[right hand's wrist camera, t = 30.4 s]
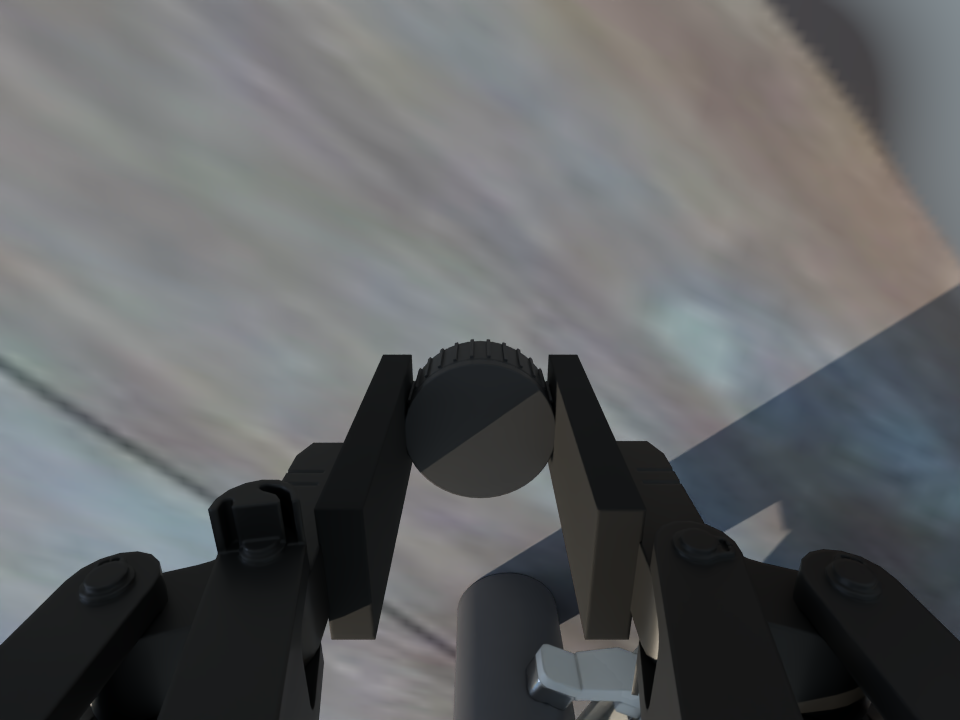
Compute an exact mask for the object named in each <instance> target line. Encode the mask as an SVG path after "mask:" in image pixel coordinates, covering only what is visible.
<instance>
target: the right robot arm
mask: <svg viewBox="0 0 960 720" xmlns="http://www.w3.org/2000/svg"><path fill="white" fill-rule="evenodd" d="M547 381H548V384H549V388H550V391H551V395H552V399H553V402H554V403H552V407H553V411H554V414H555V438H554V450H553V452H552V455H551V457H550V459H549V461H548V464H549V469H550V474H551V479H552V484H553V488H554V493H555V498H556V503H557V508H558V512H559V517H560V522H561V527H562V531H563V536H564V541H565V546H566V551H567V555H568V560H569V565H570V570H571V575H572V579H573V584H574V589H575V594H576V598H577V603H578V608H579V613H580V618H581V622H582V627H583V632H584V637H585V639H629V634H630V627H631V620H632V617H633V620H634V623H635V626H636V629H637V633H638V636H639V639H640V640H639V646H638V653H637V660H636V667H635V673H634V680H633V687H632V694H631V695H636V696H638V694H639V700H640V711H641V720H960V641H959V640H958V639H957V638H956V637H955V636H954V635H953V634H952V633H951V632H950V631H949V630H948V629H947V628H946V627H945V626H944V625H943V624H942V623H941V622H939V621H938V620H937V619H936V618H935V617H934V616H933V615H932V614H931V613H930V612H929V611H928V610H927V609H926V608H925V607H924V606H923V605H922V604H921V603H920V602H919V601H918V600H917V599H916V598H915V597H914V596H913V595H912V594H911V593H910V592H909V591H908V590H907V589H906V588H905V587H904V586H903V585H902V584H901V583H900V582H899V581H898V580H897V579H895V578H894V577H893V576H892V575H890V574H889V573H888V572H886V571H885V570H884V569H883V568H881V567H880V566H878V565H876V564H874V563H872V562H870V561H868V560H866V559H864V558H862V557H860V556H856V555H854V554H850V553H847V552H843V551H837V550H826V549H822V550H817V551H813V552H809V553H808V554H807V555H806V556H805V557H804V558H803V559H802V560H801V564H800V567H799V571H797V570H792V569H788V568H783V567H779V566H774V565H770V564H765V563H761V562H758V561H755V560H751V559H748V558H746V557H744V556H743V554H742V552H741V550H740V549H739V547H738V546H737V544H736V543H735V541H733V540H732V539H731V538H730V537H728V536H727V535H726V534H725V533H723V532H722V531H720V530H718V529H715V528H713V527H711V526H709V525H707V524H705V523H704V522H703V520H702V518H701V517H700V515H699V513H698V511H697V510H696V508H695V506H694V505H693V503H692V501H691V499H690V498H689V496H688V494H687V493H686V491H685V489H684V487H683V486H682V484H680V481H679V479H678V477H677V475H676V474H675V472H674V471H673V470H672V467H671V465H670V463H669V462H668V460H667V458H666V457H665V455H664V453H662V452H661V451H660V450H658V449H657V448H656V447H654V446H653V445H651V444H650V443H649V442H647V441H616V440H615V438H614V436H613V433H612V431H611V429H610V427H609V424H608V422H607V420H606V418H605V415H604V413H603V411H602V409H601V407H600V404H599V402H598V400H597V398H596V395H595V393H594V391H593V389H592V387H591V384H590V382H589V380H588V378H587V375H586V373H585V371H584V369H583V366H582V364H581V362H580V360H579V358H578V355H549V359H548V379H547ZM412 382H413V372H412V355H383V356H382V358H381V361H380V363H379V365H378V367H377V370H376V372H375V374H374V376H373V378H372V381H371V383H370V385H369V387H368V390H367V392H366V394H365V396H364V399H363V401H362V403H361V405H360V407H359V410H358V412H357V414H356V416H355V419H354V421H353V423H352V425H351V427H350V430H349V432H348V434H347V436H346V439H345V441H344V443H313V444H311V445H310V446H309V447H307V448H306V449H305V450H303V451H302V452H301V453H299V454H298V455H297V456H296V458H295V459H294V461H293V463H292V465H291V466H290V468H289V470H288V473H286V475H285V477H284V478H283V480H282V481H280V480H259V481H254V482H249V483H245V484H242V485H240V486H237V487H235V488H232V489H230V490H228V491H227V492H225V493H224V494H222V495H221V496H220V497H218V498H217V499H216V500H215V501H214V502H213V504H212V505H211V506H210V508H209V509H208V511H209V516H210V520H211V525H212V529H213V534H214V538H215V543H216V547H217V551H218V555H217V557H216V559H215V560H213V561H210V562H207V563H203V564H200V565H196V566H191V567H187V568H182V569H178V570H173V571H169V572H164V573H162V569H161V566H160V562H159V561H158V560H157V559H156V558H155V557H154V556H153V555H152V554H147V553H143V552H138V551H137V552H126V553H119V554H115V555H112V556H108V557H105V558H102V559H99V560H97V561H96V562H94V563H92V564H90V565H88V566H86V567H84V568H82V569H80V570H79V571H78V572H76V573H75V574H74V575H73V576H71V577H70V578H69V579H67V580H66V581H65V582H64V583H63V584H62V585H61V586H60V587H59V588H58V589H57V590H56V591H55V592H54V593H53V594H52V595H51V596H50V597H49V598H48V599H47V600H46V601H45V602H44V603H43V604H42V605H41V606H40V607H39V608H38V609H37V610H36V611H35V612H34V613H33V614H32V615H31V616H30V617H29V618H28V619H26V620H25V621H24V622H23V623H22V624H21V625H20V626H19V627H18V628H17V629H16V630H15V631H14V632H13V633H12V634H11V635H10V636H9V637H8V638H7V639H6V640H5V641H4V642H3V643H2V644H1V645H0V720H319V713H320V701H321V690H322V678H323V667H324V660H323V653H322V646H321V640H322V636H323V633H324V630H325V627H326V624H327V621H328V617H329V625H330V632H331V639H332V640H369V639H375V638H376V634H377V629H378V624H379V619H380V615H381V610H382V605H383V600H384V595H385V591H386V586H387V581H388V576H389V571H390V567H391V562H392V557H393V552H394V548H395V543H396V538H397V533H398V528H399V524H400V519H401V514H402V509H403V504H404V500H405V495H406V490H407V485H408V480H409V476H410V471H411V466H412V460H411V458H410V456H409V454H408V451H407V448H406V432H405V416H406V412H407V409H408V405H409V403H407V400H408V397H409V393H410V389H411V386H412Z"/></svg>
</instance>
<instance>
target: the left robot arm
mask: <svg viewBox="0 0 960 720" xmlns="http://www.w3.org/2000/svg"><path fill="white" fill-rule="evenodd" d="M637 653H638V647H637V648H636V649H635V650H634V652H630V651H627V650H625V649H622V648H619V647H615V648H607V649H598V650H589V651H580V652H576V653H575V654H574V653H571V652H568V651H565V650H563V649H560V648H557V647H554V646H552V645H549V644H543V645H542V646H541V648H540V649H539V650H538V652H537V653H536V655H535V656H534V657H533V659H532V660H531V661H530V663H529V664H528V665H527V667H526V676H527V677H528V680H527V690H528V693H529V695H530V696H531V697H532V698H533V699H534V700H535V701H537V702H541V703H548V704H549V705H550V706H552V707H554V708H556V709H559V710H562V711H564V710H565V709H566V708H567V707H568V706H569V705H570V704H571V702H572V701H573V700H575V701H591V703H590V704H589V705H588V706H587V707H586V708H585V710H584V711H583V712H582V713H581V714H580V716H579V717H578V718H577V719H576V720H641V711H640V700H639V694H638V696H636V695H631V694H632V687H633V680H634V673H635V667H636V660H637Z"/></svg>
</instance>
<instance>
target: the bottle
mask: <svg viewBox="0 0 960 720" xmlns="http://www.w3.org/2000/svg"><path fill="white" fill-rule="evenodd" d="M543 644H549V645H552V646H554V647H557V648H560V649H563V644H562V638H561V632H560V626H559V620H558V614H557V608H556V603H555V600H554V597H553V596H552V594H551V592H550V591H549V590H548V589H547V588H546V587H545V586H544V585H543V584H542V583H540V582H539V581H537V580H535V579H533V578H531V577H528V576H525V575H521V574H514V573H502V574H495V575H491V576H488V577H485V578H483V579H481V580H479V581H477V582H475V583H474V584H473V585H471V586H470V587H469V588H468V589H467V590H466V591H465V592H464V594H463V596H462V597H461V599H460V601H459V605H458V614H457V639H456V665H455V690H454V716H453V720H575V715H574V709H573V703H572V702H571V704H570V705H569V706H568V707H567V708H566V709H565V710H564V711H562V710H559V709H556V708H554V707H552V706H550V705H549V704H548V703H541V702H537V701H535V700H534V699H533V698H532V697H531V696H530V695H529V693H528V690H527V680H528V677H527V676H526V667H527V665H528V664H529V663H530V661H531V660H532V659H533V657H534V656H535V655H536V653H537V652H538V650H539V649H540V648H541V646H542V645H543Z"/></svg>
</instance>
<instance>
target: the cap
mask: <svg viewBox="0 0 960 720" xmlns="http://www.w3.org/2000/svg"><path fill="white" fill-rule="evenodd" d="M407 403H409V405H408V409H407V412H406V416H405V432H406V448H407V451H408V454H409V456H410V458H411V460H412V462H413V463H414V465H415V466H416V468H417V469H418V470H419V471H420V473H421V474H422V475H423V476H424V477H425V478H427V479H428V480H429V481H430V482H432V483H433V484H434V485H436V486H438V487H439V488H441V489H443V490H445V491H448V492H450V493H453V494H456V495H460V496H465V497H471V498H490V497H496V496H501V495H504V494H508V493H510V492H513V491H515V490H517V489H519V488H521V487H523V486H525V485H526V484H527V483H529V482H530V481H532V480H533V479H534V478H535V477H536V476H537V475H538V474H539V473H540V472H541V471H542V469H543V468H544V467H545V465H546V464H547V462H548V461H549V459H550V457H551V455H552V452H553V450H554V438H555V414H554V411H553V407H552V403H554V402H553V399H552V395H551V391H550V388H549V384H548V381H546V382H545V380H544V377H543V373H542V370H541V369H538V368H537V367H536V366H535V365H534V364H533V360H532V359H531V358H529V359H528V358H527V357H526V356H524V355H523V354H521V353H520V350H519V349H517V350H515V349H513V348H511V347H508V346H506V343H502V344H499V343H495V342H490V340H489V339H487V341H474V339H472V340H471V342H466V343H461V344H458V342H457V343H455V346H452V347H449V348H448V349H446V350H444V349H441V350H440V353H439V354H437V355H436V356H435V357H434V358H431V357H430V358H429V359H428V363H427V364H426V365H425V366H424V368H423V369H421V368H420V369H419V371H418V375H417V379H416V381H413V382H412V386H411V389H410V393H409V397H408V400H407Z"/></svg>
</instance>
